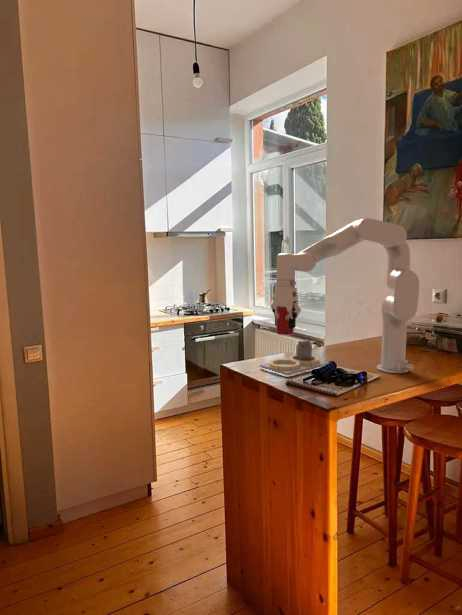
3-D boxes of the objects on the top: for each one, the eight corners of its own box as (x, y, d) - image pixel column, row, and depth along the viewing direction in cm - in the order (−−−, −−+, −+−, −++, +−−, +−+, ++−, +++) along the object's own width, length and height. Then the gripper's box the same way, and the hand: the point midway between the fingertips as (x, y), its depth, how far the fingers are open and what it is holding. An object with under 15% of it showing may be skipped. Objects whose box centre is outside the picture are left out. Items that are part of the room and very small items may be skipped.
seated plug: (314, 361, 198) (315, 341, 197) (304, 364, 194) (304, 343, 192) (303, 358, 203) (303, 338, 202) (293, 361, 199) (293, 340, 198)
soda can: (273, 335, 187) (273, 306, 186) (279, 332, 194) (280, 304, 192) (290, 336, 184) (290, 307, 182) (296, 333, 190) (296, 305, 189)
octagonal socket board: (328, 367, 197) (328, 359, 196) (287, 377, 181) (287, 369, 180) (300, 359, 209) (300, 352, 208) (259, 369, 193) (260, 361, 193)
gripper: (308, 284, 182) (307, 328, 184) (277, 281, 195) (276, 322, 197) (295, 285, 177) (294, 330, 179) (264, 282, 190) (263, 324, 193)
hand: (285, 326), depth 188 cm, fingers closed on soda can, 7 cm apart
